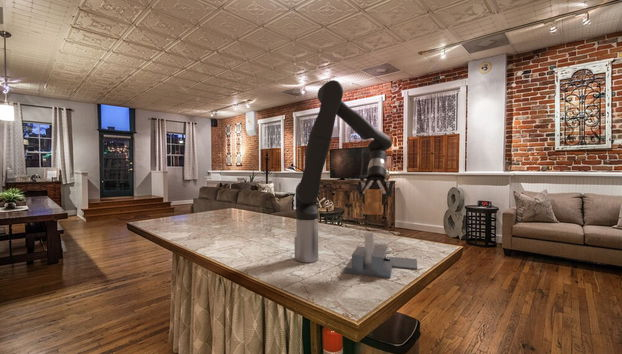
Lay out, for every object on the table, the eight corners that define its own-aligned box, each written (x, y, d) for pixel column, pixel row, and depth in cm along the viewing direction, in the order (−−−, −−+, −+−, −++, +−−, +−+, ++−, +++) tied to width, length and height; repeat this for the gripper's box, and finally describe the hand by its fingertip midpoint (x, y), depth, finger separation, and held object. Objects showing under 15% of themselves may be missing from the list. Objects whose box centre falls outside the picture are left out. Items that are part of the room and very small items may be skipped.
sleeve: (364, 214, 107) (364, 189, 107) (367, 211, 113) (367, 188, 113) (381, 214, 105) (381, 190, 105) (383, 212, 111) (382, 188, 111)
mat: (384, 266, 113) (384, 265, 113) (386, 257, 124) (386, 256, 124) (417, 269, 109) (417, 268, 109) (416, 260, 120) (416, 258, 120)
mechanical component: (369, 254, 130) (392, 255, 128) (369, 244, 130) (392, 245, 128) (369, 248, 140) (390, 249, 138) (369, 239, 140) (390, 240, 138)
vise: (345, 273, 106) (344, 234, 105) (351, 263, 117) (351, 228, 117) (390, 278, 100) (390, 237, 100) (392, 267, 112) (392, 231, 111)
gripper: (358, 165, 118) (352, 197, 107) (394, 164, 113) (393, 197, 103) (360, 177, 123) (355, 209, 112) (395, 177, 119) (394, 210, 108)
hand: (373, 203), depth 108 cm, fingers closed on sleeve, 6 cm apart
